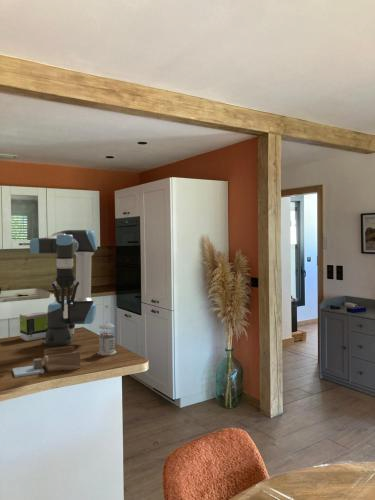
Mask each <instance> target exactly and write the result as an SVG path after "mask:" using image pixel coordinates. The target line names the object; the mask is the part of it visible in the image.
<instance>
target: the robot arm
mask: <svg viewBox="0 0 375 500" xmlns="http://www.w3.org/2000/svg"><path fill="white" fill-rule="evenodd" d="M97 250H98V242H97V235H96V233H95V231H94V230H91V229H90V230H89V229H67V230H61V231H57V232H54V233H52V234H51V235H50V236H49V235H48V236H45V237H36V238H35V237H34V238H31V239H30V241H29V251H30V253H32V254H37V255H39V254H40V255H41V254H46V255H47V254H54V255H55V254H56V278H55V281H53V282H51V283H50V286H51V287H52V288H53V291H54V293H53V294H54V296H55V300H56V301H55V302H51V303H49V304H48V305H47V311H46V312H47V313H48V330H47V334H46V337H45V338H44V345H46V346H53V347H54V346H55V347H56V346H59V347H60V346H66V345H68V344H69V345H70V344H71V343H73V336H72V335H71V333H70V330H69V324H75V325H89V324H90V325H91V324H93V322H94V321H95V317H96V313H97V304H96V303H95V302H94V299H93V297H92V293H91V292H92V256H93V255H94V254H95V251H97ZM74 255H75V256H76V259H75V261H76V262H75V276H74V268H73V267H74ZM72 285H73V288H72V291H71V286H72ZM57 286H59V288H60V296H59V292H58V288H57ZM65 290H66V291H65ZM65 292H66V293H65ZM65 294H66V295H65ZM65 296H66V298H65ZM65 299H66V300H65Z"/></svg>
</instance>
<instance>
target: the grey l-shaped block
mask: <svg viewBox="0 0 375 500" xmlns="http://www.w3.org/2000/svg"><path fill="white" fill-rule="evenodd" d="M42 361H43V360H42V358H41V357H40V358H33V365H28V366H19V367H15V368H12V373H13V376H14V378H19V376H20V377H25V376H32V375H40V374H39V373H41V374H45V369H44V368H43V366H42V364H43V363H42Z"/></svg>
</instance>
